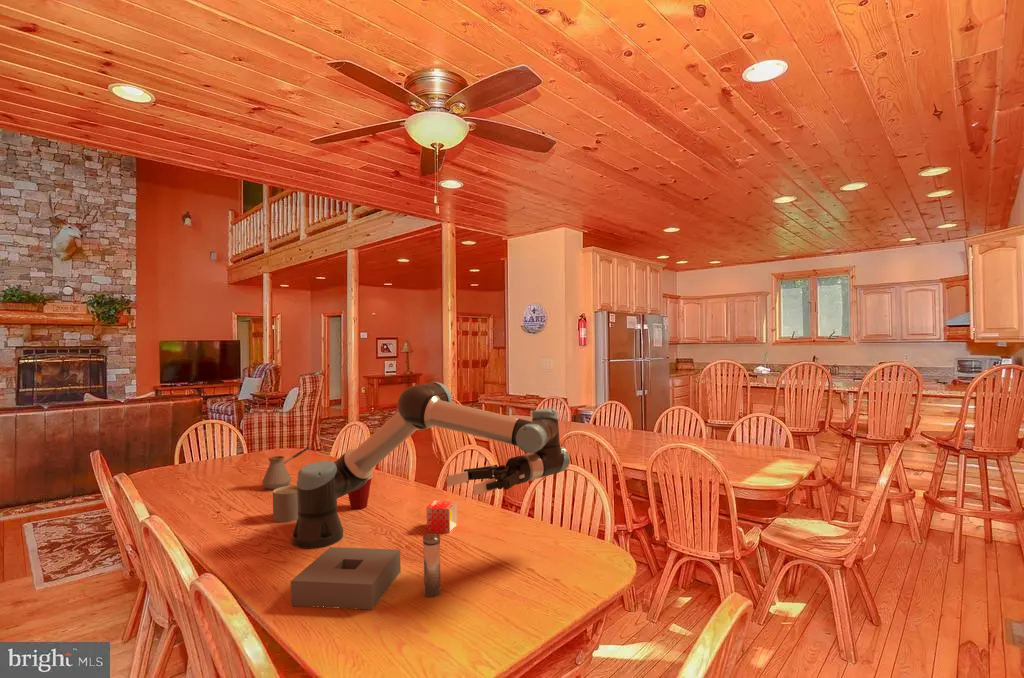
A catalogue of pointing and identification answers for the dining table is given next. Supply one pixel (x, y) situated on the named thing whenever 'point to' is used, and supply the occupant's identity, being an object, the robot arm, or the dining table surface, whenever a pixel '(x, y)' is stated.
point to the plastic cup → (360, 496)
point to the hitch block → (346, 578)
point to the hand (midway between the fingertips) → (460, 485)
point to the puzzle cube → (441, 516)
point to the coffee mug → (285, 504)
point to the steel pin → (432, 565)
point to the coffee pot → (278, 472)
